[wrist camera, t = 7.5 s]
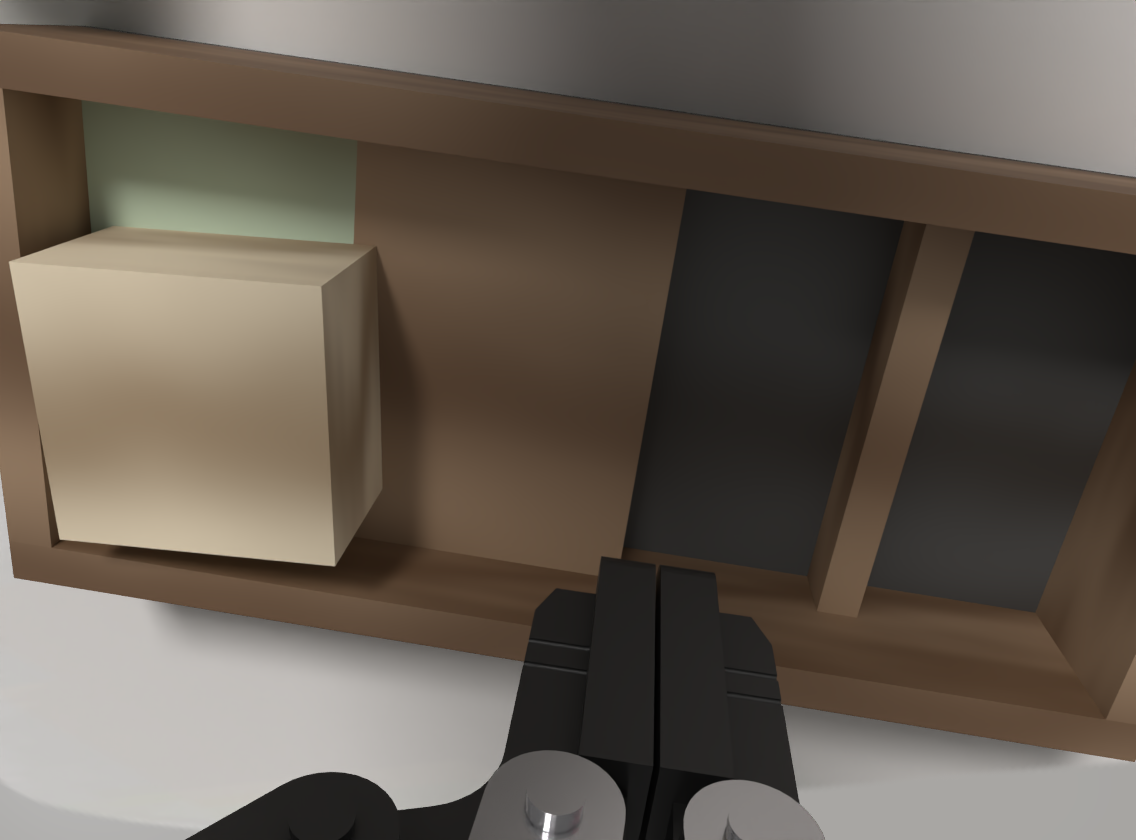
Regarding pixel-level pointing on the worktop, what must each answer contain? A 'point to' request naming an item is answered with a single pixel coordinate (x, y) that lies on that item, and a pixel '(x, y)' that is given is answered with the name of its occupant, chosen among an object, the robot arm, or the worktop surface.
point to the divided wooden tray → (645, 369)
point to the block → (206, 390)
